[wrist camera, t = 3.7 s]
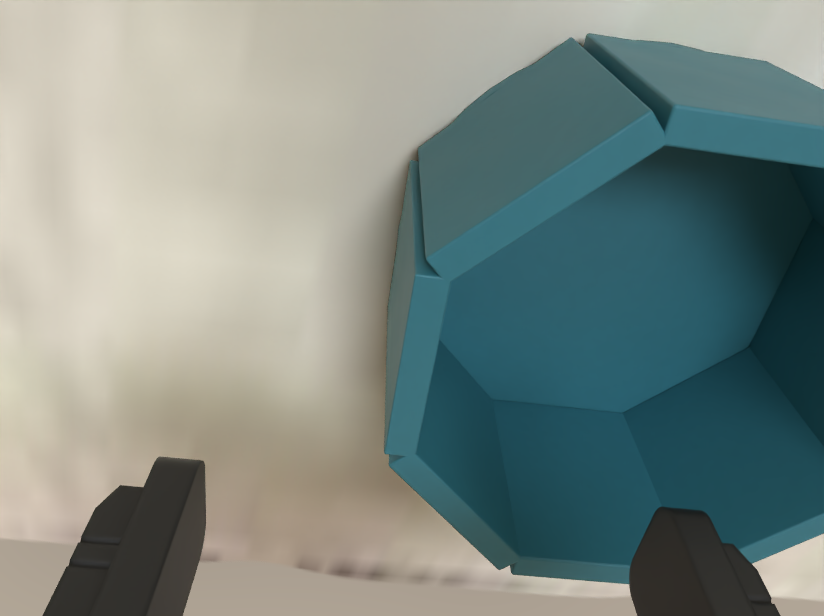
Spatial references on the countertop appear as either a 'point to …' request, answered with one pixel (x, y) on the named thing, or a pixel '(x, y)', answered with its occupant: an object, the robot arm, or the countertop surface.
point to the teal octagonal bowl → (614, 308)
